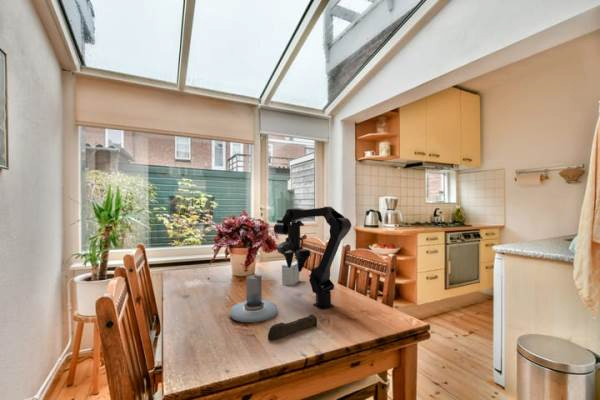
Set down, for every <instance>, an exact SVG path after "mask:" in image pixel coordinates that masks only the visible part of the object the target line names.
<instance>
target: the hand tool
mask: <svg viewBox="0 0 600 400" xmlns="http://www.w3.org/2000/svg"><path fill="white" fill-rule="evenodd" d="M317 326H318V319H317V316H315V315H314V314H309V315H308V316H306V317H305V316H304V317H301V318H298V319H296V320H293V321H290V322H287V323H285V322H279V323H276V324H273V325H271V326H270V328H269V330H268V334H267V340H268V341H276V340H280V339H284V338H286V337H287V336H288V335H290V334H293V333H296V332H299V331H302V330H305V329H308V328H311V327H315V328H316V327H317Z"/></svg>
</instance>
